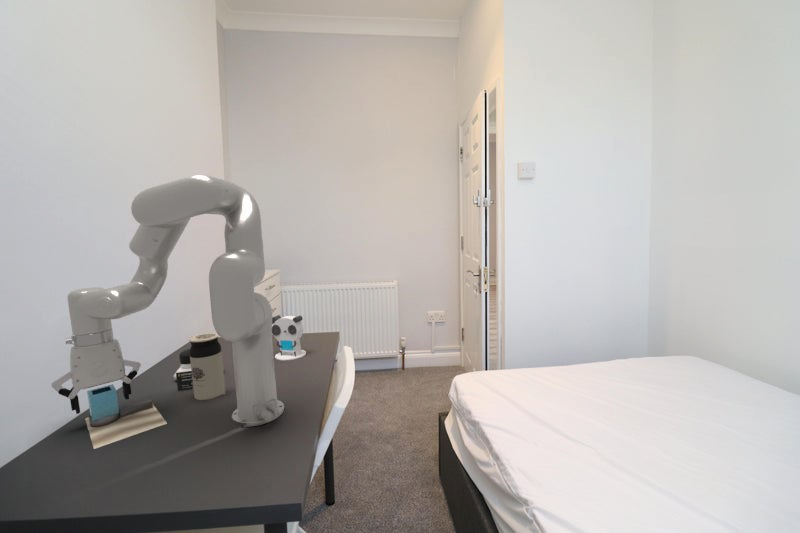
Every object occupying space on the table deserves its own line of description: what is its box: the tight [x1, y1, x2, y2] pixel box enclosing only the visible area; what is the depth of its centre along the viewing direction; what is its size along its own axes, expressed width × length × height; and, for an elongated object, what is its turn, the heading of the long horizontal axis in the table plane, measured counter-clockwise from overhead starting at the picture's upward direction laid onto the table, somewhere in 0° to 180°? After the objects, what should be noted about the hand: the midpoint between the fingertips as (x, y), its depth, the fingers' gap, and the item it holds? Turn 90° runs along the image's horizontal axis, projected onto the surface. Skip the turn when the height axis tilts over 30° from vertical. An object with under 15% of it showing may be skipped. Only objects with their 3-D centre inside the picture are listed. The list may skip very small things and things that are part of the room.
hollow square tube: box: [86, 384, 120, 421], centre depth 93 cm, size 5×5×6 cm
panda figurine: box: [272, 314, 307, 361], centre depth 140 cm, size 12×11×15 cm
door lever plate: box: [84, 398, 168, 450], centre depth 93 cm, size 20×14×8 cm
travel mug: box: [188, 332, 226, 401], centre depth 106 cm, size 8×8×18 cm
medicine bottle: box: [175, 348, 194, 392], centre depth 114 cm, size 7×7×12 cm
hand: (103, 404), depth 93 cm, fingers open, 9 cm apart
